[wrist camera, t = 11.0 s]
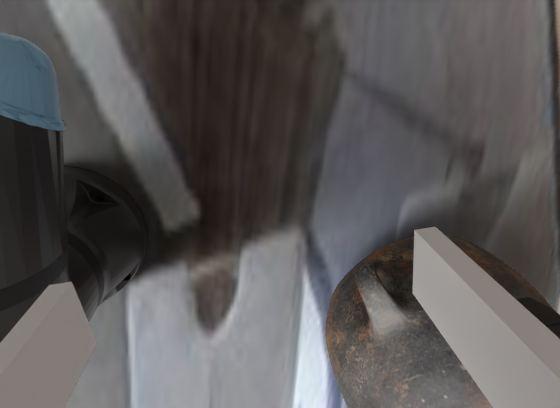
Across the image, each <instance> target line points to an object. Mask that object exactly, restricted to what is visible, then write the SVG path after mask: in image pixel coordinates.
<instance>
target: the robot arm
mask: <svg viewBox="0 0 560 408" xmlns="http://www.w3.org/2000/svg"><path fill="white" fill-rule="evenodd" d="M65 127H66V126H65V122H64V121H63V120H62V119H61V111H60V103H59V95H58V87H57V77H56V72H55V68H54V66H53V64H52V62H51V60H50V58H49V57H48V56H47V55H46V53H45V52H44V51H43V50H42V49H40V48H39V47H38V46H37V45H35V44H34V43H32V42H30V41H29V40H27V39H24V38H22V37H19V36H16V35H12V34H9V33H5V32H1V31H0V408H64V407H65V405H66V403H67V401H68V399H69V397H70V395H71V393H72V392H73V390H74V388H75V386H76V384H77V382H78V380H79V378H80V376H81V374H82V372H83V370H84V368H85V366H86V364H87V362H88V360H89V358H90V356H91V354H92V352H93V350H94V348H95V346H96V344H97V341H96V339H95V336H94V334H93V332H92V329H91V327H90V324H89V321H90V319H91V317H92V316H93V314H94V312H95V310H96V308H97V307H98V306H99V305H100V304H101V303H103V302H104V301H105V300H107V299H108V298H110V297H111V296H112V295H114V294H115V293H116V292H118V291H119V290H121V289H122V288H123V287H124V286H126V285H127V284H128V283H129V282H130V280H131V279H132V278H133V277H134V276H135V274H136V273H137V271H138V269H139V267H140V265H141V263H142V261H143V259H144V257H145V254H146V250H147V245H148V232H147V226H146V223H145V220H144V217H143V215H142V213H141V211H140V209H139V207H138V206H137V204H136V203H135V202H134V200H133V199H132V198H131V197H130V196H129V195H128V194H127V193H126V192H125V191H124V190H123V189H122V188H121V187H120V186H118V185H117V184H115V183H114V182H113V181H111V180H109V179H108V178H106V177H104V176H102V175H99V174H97V173H95V172H92V171H89V170H85V169H81V168H75V167H64V154H63V131H65ZM412 293H413V294H414V296H415V297H416V299H417V300H418V302H419V303H420V304H421V306H422V307H423V309H424V310H425V312H426V313H427V314H428V316H429V317H430V319H431V320H432V321H433V323H434V324H435V326H436V327H437V329H438V330H439V331H440V333H441V334H442V336H443V337H444V339H445V340H446V341H447V343H448V344H449V346H450V347H451V348H452V350H453V351H454V353H455V354H456V356H457V357H458V358H459V360H460V361H461V363H462V364H463V366H464V367H465V368H466V370H467V371H468V373H469V374H470V375H471V377H472V378H473V380H474V381H475V383H476V384H477V385H478V387H479V388H480V390H481V391H482V393H483V394H484V395H485V397H486V398H487V400H488V401H489V402H490V404H491V405H492V407H493V408H560V315H559V314H558V313H557V312H555V311H554V310H553V309H552V308H550V307H548V306H546V305H544V304H542V303H540V302H538V301H536V300H534V299H532V298H530V297H526V298H520V299H515V298H514V297H513V296H512V295H511V294H509V293H508V292H507V291H506V290H505V289H504V288H503V287H502V286H501V285H499V284H498V283H497V282H496V281H495V280H494V279H493V278H492V277H491V276H489V275H488V274H487V273H486V272H485V271H484V270H483V269H482V268H481V267H480V266H478V265H477V264H476V263H475V262H474V261H473V260H472V259H471V258H470V257H468V256H467V255H466V254H465V253H464V252H463V251H462V250H461V249H460V248H458V247H457V246H456V245H455V244H454V243H453V242H452V241H451V240H450V239H449V238H447V237H446V236H445V235H444V234H443V233H442V232H441V231H440V230H439V229H437V228H436V227H430V228H423V229H416V230H414V260H413V292H412Z"/></svg>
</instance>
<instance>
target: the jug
mask: <svg viewBox="0 0 560 408" xmlns="http://www.w3.org/2000/svg"><path fill="white" fill-rule="evenodd" d="M446 237H447V238H449V239H450V240H451V241H452V242H453V243H454V244H455V245H456V246H457V247H458V248H460V249H461V250H462V251H463V252H464V253H465V254H466V255H467V256H468V257H470V258H471V259H472V260H473V261H474V262H475V263H476V264H477V265H478V266H480V267H481V268H482V269H483V270H484V271H485V272H486V273H487V274H488V275H489V276H491V277H492V278H493V279H494V280H495V281H496V282H497V283H498V284H499V285H501V286H502V287H503V288H504V289H505V290H506V291H507V292H508V293H509V294H511V295H512V296H513V297H514V298H515V299H520V298H526V297H530V298H532V299H534V300H536V301H538V302H540V303H542V304H544V305H546V306H548V307H550V308H552V307H551V306H550V305H549V304H548V303H547V301H546V300H545V299H544V298H543V297H542V296H541V295H540V294H539V293H538V292H537V291H536V290H535V289H534V288H533V287H532V286H531V285H530V284H529V283H528V282H527V281H526V280H525V279H524V278H523V277H522V276H520V275H519V274H518V273H517V272H516V271H514V270H513V269H512V268H511V267H509V266H508V265H506V264H505V263H504V262H502V261H501V260H499V259H498V258H497V257H495V256H494V255H492V254H491V253H489V252H487V251H486V250H484V249H482V248H480V247H478V246H476V245H474V244H472V243H470V242H467V241H465V240H462V239H458V238H454V237H450V236H446ZM413 260H414V237H409V238H405V239H401V240H398V241H396V242H393V243H391V244H388V245H386V246H384V247H382V248H380V249H379V250H377V251H375V252H373V253H372V254H371V255H369V256H368V257H366V258H365V259H363V260H362V261H361V262H360V263H358V264H357V265H356V266H355V267H354V268H353V269H352V270H351V271H350V272H349V273H347V274H346V275H345V277H344V278H343V279H342V280H341V281H340V283H339V284H338V285H337V287H336V289H335V291H334V293H333V295H332V298H331V302H330V305H329V310H328V314H327V320H326V342H327V349H328V353H329V358H330V362H331V365H332V368H333V371H334V374H335V377H336V380H337V383H338V385H339V388H340V390H341V393H342V395H343V398H344V400H345V403H346V405H347V407H348V408H493V407H492V405H491V404H490V402H489V401H488V400H487V398H486V397H485V395H484V394H483V393H482V391H481V390H480V388H479V387H478V385H477V384H476V383H475V381H474V380H473V378H472V377H471V375H470V374H469V373H468V371H467V370H466V368H465V367H464V366H463V364H462V363H461V361H460V360H459V358H458V357H457V356H456V354H455V353H454V351H453V350H452V348H451V347H450V346H449V344H448V343H447V341H446V340H445V339H444V337H443V336H442V334H441V333H440V331H439V330H438V329H437V327H436V326H435V324H434V323H433V321H432V320H431V319H430V317H429V316H428V314H427V313H426V312H425V310H424V309H423V307H422V306H421V304H420V303H419V302H418V300H417V299H416V297H415V296H414V294H413V293H412V292H413ZM552 309H553V308H552Z"/></svg>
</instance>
